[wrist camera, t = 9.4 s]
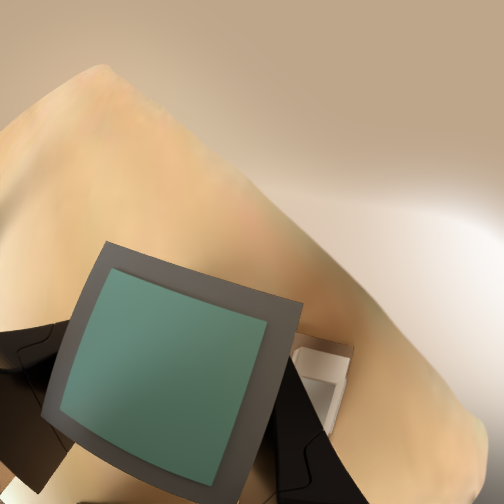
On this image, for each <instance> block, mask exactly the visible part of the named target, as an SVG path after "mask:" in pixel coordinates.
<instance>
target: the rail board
mask: <svg viewBox="0 0 504 504" xmlns="http://www.w3.org/2000/svg"><path fill="white" fill-rule="evenodd" d="M353 350H354V347H353V346H348V345H344V344H340V343H336V342H332V341H328V340H324V339H320V338H316V337H312V336H308V335H305V334H301V333H297V332H296V333H295V337H294V340H293V344H292V347H291V351H290V356H291V358H292V361H293V363H294V365H295V367H296V369H297V371H298V374H299V376H300V378H301V380H302V382H303V385H304V387H305V389H306V391H307V393H308V395H309V397H310V400H311V402H312V404H313V406H314V408H315V410H316V413H317V415H318V417H319V419H320V421H321V423H322V425H323V428H324V430H325V432H326V434H327V436H328V438H329V436H330V433H332V430H333V427H334V424H335V421H336V417H337V414H338V411H339V408H340V404H341V401H342V397H343V394H344V390H345V386H346V383H347V375H348V371H349V367H350V363H351V359H352V355H353Z"/></svg>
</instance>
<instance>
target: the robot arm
mask: <svg viewBox="0 0 504 504" xmlns="http://www.w3.org/2000/svg"><path fill="white" fill-rule="evenodd" d="M69 321H70V320H66V321H62V322H57V323H55V325H54V324H49V325H44V326H39V327H34V328H28V329H22V330H14V331H6V332H0V494H1V493H2V492H3V491H4V489H5V488H6V487H7V486H8V484H9V483H10V482H11V481H12V480H13V478H14V477H15V476H17V477H18V478H19V479H20V480H21V481H22V482H23V483H25V484H26V485H27V486H28V487H29V488H31V489H32V490H33V491H34V492H36V493H37V494H39V493H40V492H41V491H42V489H43V488H44V486H45V485H46V484H47V482H48V481H49V479H50V478H51V476H52V475H53V473H54V472H55V471H56V469H57V468H58V466H59V465H60V463H61V462H62V461H63V459H64V458H65V456H66V455H67V452H69V450H70V449H71V448H72V446H73V445H74V443H75V442H74V441H73V440H71V439H70V438H68V437H67V436H66V435H64V434H63V433H61V432H60V431H59V430H57V429H56V428H55V427H54V426H52V425H51V424H50V423H49V422H47V421H46V420H45V419H44V418H42V417H41V412H42V407H43V403H44V399H45V395H46V391H47V388H48V384H49V380H50V377H51V374H52V370H53V367H54V364H55V361H56V358H57V354H58V351H59V349H60V346H61V343H62V340H63V337H64V334H65V332H66V329H67V326H68V324H69ZM0 504H4V503H3V502H2V501H1V499H0ZM77 504H83V503H77ZM239 504H369V502H368V501H367V500H366V498H365V497H364V496H363V494H362V493H361V491H360V490H359V488H358V487H357V485H356V484H355V482H354V481H353V479H352V478H351V476H350V475H349V473H348V472H347V470H346V469H345V467H344V465H343V464H342V462H341V460H340V459H339V457H338V455H337V454H336V452H335V450H334V448H333V446H332V444H331V442H330V440H329V438H328V436H327V434H326V432H325V430H324V428H323V425H322V423H321V421H320V419H319V417H318V415H317V413H316V410H315V408H314V406H313V404H312V402H311V400H310V397H309V395H308V393H307V391H306V389H305V387H304V385H303V382H302V380H301V378H300V376H299V374H298V371H297V369H296V367H295V365H294V363H293V361H292V358H291V356H290V354H289V358H288V361H287V365H286V368H285V371H284V375H283V378H282V381H281V384H280V387H279V391H278V394H277V397H276V400H275V403H274V406H273V409H272V412H271V415H270V418H269V421H268V424H267V427H266V430H265V432H264V435H263V438H262V441H261V444H260V446H259V449H258V452H257V455H256V457H255V460H254V463H253V465H252V468H251V470H250V473H249V475H248V478H247V481H246V483H245V486H244V488H243V490H242V493H241V495H240V499H239Z"/></svg>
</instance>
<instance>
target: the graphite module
mask: <svg viewBox="0 0 504 504" xmlns="http://www.w3.org/2000/svg"><path fill="white" fill-rule="evenodd" d="M302 307H303V303H300V302H296V301H293V300H289V299H286V298H282V297H279V296H275V295H272V294H268V293H265V292H262V291H258V290H255V289H251V288H248V287H245V286H241V285H238V284H235V283H232V282H228V281H225V280H222V279H219V278H216V277H212V276H209V275H206V274H203V273H200V272H197V271H193V270H190V269H187V268H184V267H181V266H178V265H175V264H172V263H169V262H166V261H163V260H160V259H157V258H154V257H151V256H148V255H145V254H142V253H139V252H136V251H134V250H131V249H128V248H125V247H122V246H119V245H116V244H114V243H111V242H108V241H106V243H105V244H104V246H103V248H102V250H101V252H100V254H99V256H98V258H97V260H96V262H95V264H94V266H93V268H92V270H91V273H90V275H89V277H88V279H87V281H86V283H85V286H84V288H83V290H82V292H81V295H80V297H79V299H78V302H77V304H76V306H75V309H74V311H73V314H72V316H71V319H70V321H69V324H68V326H67V329H66V332H65V334H64V337H63V340H62V343H61V346H60V349H59V351H58V354H57V358H56V361H55V364H54V367H53V370H52V374H51V377H50V380H49V384H48V388H47V391H46V395H45V399H44V403H43V407H42V412H41V417H42V418H44V419H45V420H46V421H47V422H49V423H50V424H51V425H52V426H54V427H55V428H56V429H57V430H59V431H60V432H61V433H63V434H64V435H66V436H67V437H68V438H70V439H71V440H73V441H74V442H75V443H77V444H78V445H80V446H81V447H83V448H84V449H86V450H87V451H89V452H91V453H92V454H94V455H95V456H97V457H99V458H100V459H102V460H104V461H105V462H107V463H109V464H111V465H112V466H114V467H116V468H118V469H120V470H121V471H123V472H125V473H127V474H129V475H131V476H133V477H135V478H137V479H139V480H141V481H143V482H145V483H148V484H150V485H152V486H154V487H157V488H159V489H161V490H164V491H166V492H169V493H171V494H174V495H176V496H179V497H182V498H184V499H187V500H190V501H193V502H196V503H199V504H237V502H238V500H239V498H240V495H241V493H242V490H243V488H244V486H245V483H246V481H247V478H248V475H249V473H250V470H251V468H252V465H253V463H254V460H255V457H256V455H257V452H258V449H259V446H260V444H261V441H262V438H263V435H264V432H265V430H266V427H267V424H268V421H269V418H270V415H271V412H272V409H273V406H274V403H275V400H276V397H277V394H278V391H279V387H280V384H281V381H282V378H283V375H284V371H285V368H286V365H287V361H288V358H289V354H290V351H291V347H292V344H293V340H294V337H295V333H296V330H297V326H298V322H299V318H300V315H301V311H302Z"/></svg>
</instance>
